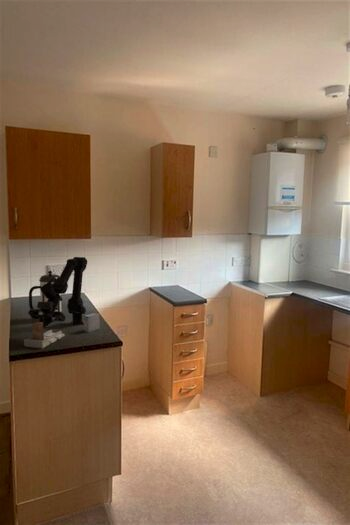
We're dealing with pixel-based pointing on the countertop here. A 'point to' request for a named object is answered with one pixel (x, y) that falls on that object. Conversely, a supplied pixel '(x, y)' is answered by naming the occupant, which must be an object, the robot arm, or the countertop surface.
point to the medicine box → (91, 322)
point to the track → (48, 339)
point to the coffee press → (43, 281)
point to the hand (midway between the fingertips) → (40, 330)
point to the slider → (38, 331)
